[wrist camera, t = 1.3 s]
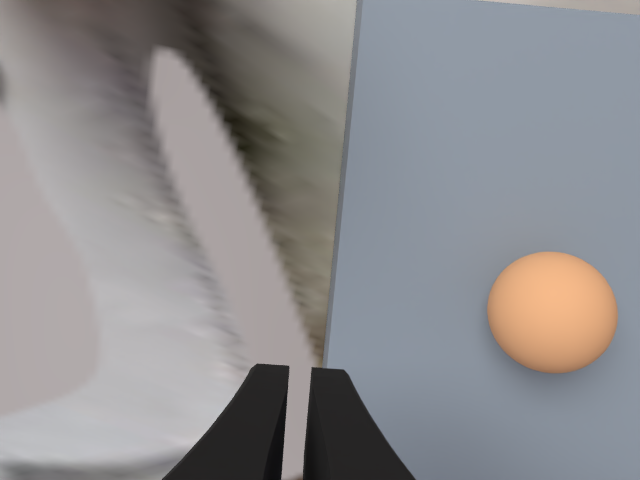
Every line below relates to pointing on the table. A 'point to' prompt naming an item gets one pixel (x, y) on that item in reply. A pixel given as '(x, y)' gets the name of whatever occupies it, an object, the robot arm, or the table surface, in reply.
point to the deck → (486, 231)
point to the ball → (552, 312)
